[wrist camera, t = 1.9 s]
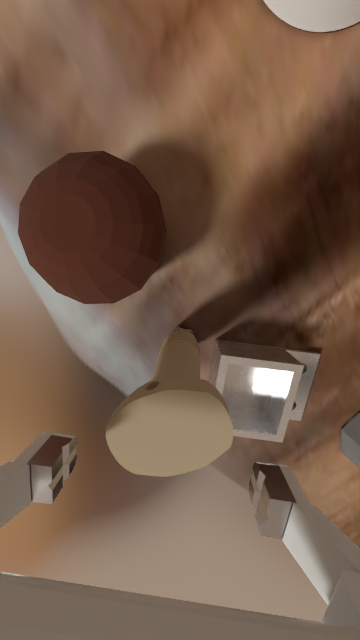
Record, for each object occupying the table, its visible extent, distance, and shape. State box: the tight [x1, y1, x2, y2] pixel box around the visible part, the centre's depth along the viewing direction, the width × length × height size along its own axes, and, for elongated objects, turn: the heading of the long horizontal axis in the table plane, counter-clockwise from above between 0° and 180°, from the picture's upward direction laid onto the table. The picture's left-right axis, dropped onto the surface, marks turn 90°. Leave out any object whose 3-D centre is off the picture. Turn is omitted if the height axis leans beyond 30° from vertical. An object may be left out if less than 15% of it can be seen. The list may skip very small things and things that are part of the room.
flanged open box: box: [209, 339, 321, 442], centre depth 23 cm, size 9×12×5 cm
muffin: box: [18, 151, 166, 304], centre depth 18 cm, size 12×11×10 cm
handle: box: [106, 327, 234, 476], centre depth 17 cm, size 5×6×15 cm
